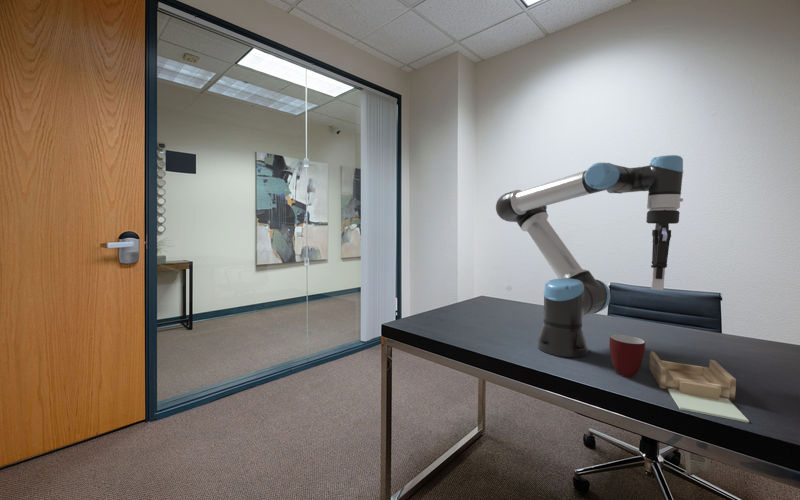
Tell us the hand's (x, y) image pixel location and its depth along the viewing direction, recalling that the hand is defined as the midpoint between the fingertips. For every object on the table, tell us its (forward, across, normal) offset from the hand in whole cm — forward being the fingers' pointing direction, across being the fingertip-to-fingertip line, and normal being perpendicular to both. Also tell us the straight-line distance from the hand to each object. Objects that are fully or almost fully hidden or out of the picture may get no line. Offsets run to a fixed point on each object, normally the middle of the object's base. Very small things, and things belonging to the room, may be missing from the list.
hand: (657, 289), depth 98 cm
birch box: (+22, -12, -6) cm, 26 cm away
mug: (+23, -13, +8) cm, 27 cm away
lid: (+23, -24, -7) cm, 34 cm away
